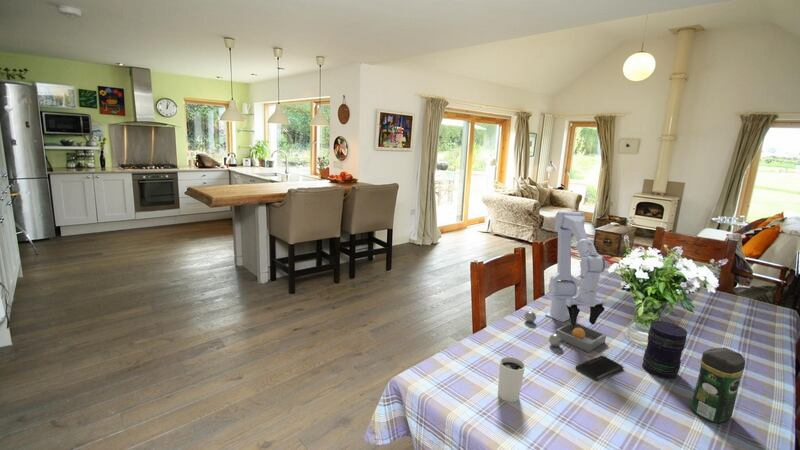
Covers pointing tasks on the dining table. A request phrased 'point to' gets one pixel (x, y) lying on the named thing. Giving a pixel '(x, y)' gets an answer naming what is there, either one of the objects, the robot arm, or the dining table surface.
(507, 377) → the white cup
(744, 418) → the dining table surface
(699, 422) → the dining table surface
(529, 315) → the steel ball
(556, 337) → the steel ball
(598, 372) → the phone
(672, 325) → the storage jar
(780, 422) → the dining table surface
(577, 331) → the orange ball
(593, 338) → the bin
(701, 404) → the coffee jar
